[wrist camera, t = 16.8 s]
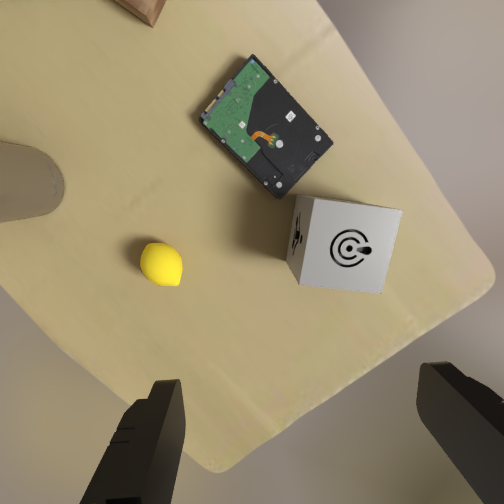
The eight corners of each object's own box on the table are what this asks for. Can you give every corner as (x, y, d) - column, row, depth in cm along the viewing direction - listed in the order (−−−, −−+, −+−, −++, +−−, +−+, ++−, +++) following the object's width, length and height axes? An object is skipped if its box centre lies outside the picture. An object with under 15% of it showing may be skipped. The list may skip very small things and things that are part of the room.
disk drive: (329, 144, 40) (250, 59, 37) (335, 141, 37) (252, 50, 34) (277, 199, 41) (198, 123, 38) (280, 201, 39) (195, 119, 36)
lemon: (140, 252, 42) (122, 257, 37) (169, 231, 42) (156, 234, 36) (168, 290, 43) (154, 301, 38) (197, 271, 42) (187, 279, 37)
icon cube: (364, 203, 41) (402, 210, 32) (350, 268, 44) (381, 293, 34) (296, 194, 41) (314, 198, 31) (285, 261, 43) (299, 284, 33)
